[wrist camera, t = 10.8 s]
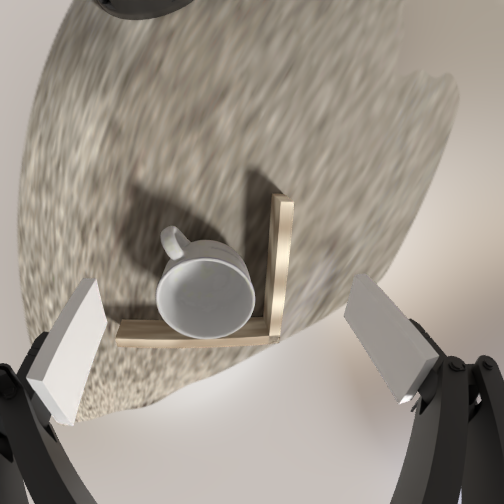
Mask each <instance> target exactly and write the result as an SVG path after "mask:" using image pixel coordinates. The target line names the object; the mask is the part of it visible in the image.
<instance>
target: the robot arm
mask: <svg viewBox="0 0 504 504" xmlns="http://www.w3.org/2000/svg"><path fill="white" fill-rule="evenodd" d="M97 1H98V3H99V4H100V5H101V6H102V7H103V8H104V10H105V11H107V12H108V13H109V14H111V15H113V16H115V17H118V18H122V19H128V20H143V19H151V18H156V17H160V16H163V15H166V14H169V13H172V12H174V11H176V10H178V9H180V8H182V7H184V6H186V5H188V4H189V3H191V2H192V1H193V0H97ZM344 317H345V319H346V321H347V322H348V324H349V325H350V327H351V328H352V330H353V331H354V333H355V334H356V336H357V338H358V339H359V341H360V342H361V344H362V345H363V347H364V349H365V350H366V352H367V353H368V355H369V356H370V358H371V360H372V361H373V363H374V365H375V366H376V368H377V369H378V371H379V373H380V374H381V376H382V377H383V379H384V381H385V382H386V384H387V386H388V387H389V389H390V390H391V392H392V394H393V396H394V397H395V399H396V401H397V402H398V404H401V403H404V402H407V401H410V400H412V398H413V397H414V396H415V394H416V393H417V391H418V392H419V394H420V395H421V396H420V398H419V399H418V400H417V402H416V403H415V405H414V406H413V407H412V409H411V412H413V411H414V409H415V408H416V407H417V409H416V414H415V419H414V424H413V428H412V433H411V437H410V441H409V445H408V449H407V453H406V457H405V460H404V463H403V467H402V470H401V473H400V477H399V480H398V483H397V486H396V489H395V491H394V494H393V497H392V500H391V502H390V504H458V500H459V495H460V490H461V489H462V504H504V380H503V378H502V375H501V373H500V370H499V368H498V365H497V363H496V362H495V361H494V360H493V358H491V357H489V356H485V355H482V356H480V357H479V358H478V359H477V361H476V362H475V364H465V363H464V361H462V360H461V359H460V358H457V357H454V356H448V357H447V356H446V355H445V354H444V352H443V351H442V350H441V349H440V348H439V346H438V345H437V344H436V343H435V342H434V341H433V339H432V338H430V336H429V335H428V334H427V333H425V330H424V329H423V328H422V327H421V326H420V324H418V323H417V322H415V321H414V320H412V319H408V318H407V317H406V316H405V315H404V314H403V313H402V312H401V310H400V309H399V308H398V307H397V306H396V305H395V304H394V302H393V301H392V300H391V299H390V298H389V297H388V296H387V295H386V294H385V293H384V292H383V290H382V289H381V288H380V287H379V286H378V285H377V284H376V283H375V282H374V281H373V280H372V279H371V278H370V277H369V276H368V275H367V274H355V275H354V279H353V283H352V287H351V291H350V295H349V299H348V302H347V306H346V310H345V313H344ZM106 325H107V320H106V316H105V313H104V309H103V305H102V301H101V297H100V293H99V289H98V284H97V280H96V278H83V279H82V281H81V282H80V284H79V285H78V287H77V288H76V290H75V291H74V293H73V294H72V296H71V297H70V299H69V300H68V302H67V304H66V305H65V307H64V308H63V310H62V312H61V313H60V315H59V317H58V318H57V320H56V322H55V323H54V325H53V327H52V329H51V330H50V332H43V333H42V334H40V335H39V336H38V337H37V338H36V339H35V341H34V343H33V344H32V346H31V349H30V350H29V352H28V353H27V354H28V355H27V356H26V357H25V359H24V361H23V363H22V365H21V367H20V369H19V370H18V373H17V374H15V373H14V371H13V370H12V368H11V366H9V365H8V364H4V363H1V364H0V504H29V502H28V499H27V495H26V491H25V487H24V482H25V485H26V487H27V489H28V491H29V493H30V495H31V497H32V499H33V501H34V503H35V504H97V503H96V501H95V500H94V498H93V497H92V496H91V494H90V493H89V491H88V490H87V488H86V487H85V485H84V484H83V482H82V480H81V479H80V477H79V476H78V474H77V472H76V471H75V469H74V467H73V465H72V464H71V462H70V460H69V458H68V456H67V455H66V453H65V451H64V449H63V447H62V445H61V443H60V442H59V439H58V437H57V435H56V433H55V431H54V429H53V427H52V425H51V424H50V422H49V420H50V417H51V415H52V416H53V418H54V419H55V420H56V421H57V423H61V424H65V425H70V426H73V425H74V421H75V417H76V414H77V410H78V407H79V403H80V400H81V397H82V393H83V390H84V387H85V384H86V381H87V378H88V375H89V372H90V369H91V366H92V363H93V360H94V357H95V354H96V352H97V349H98V346H99V343H100V341H101V338H102V335H103V333H104V330H105V328H106ZM479 396H481V399H482V401H481V402H480V403H479V404H478V403H477V399H478V398H479ZM23 480H24V482H23Z"/></svg>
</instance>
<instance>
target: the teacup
mask: <svg viewBox="0 0 504 504" xmlns="http://www.w3.org/2000/svg"><path fill="white" fill-rule="evenodd" d="M160 237H161V243H162V245H163V248H164V250H165V251H166V253H167V254H168V256H169V257H170V260H169V261H168V263H167V265H166V267H165V270H164V272H163V275H162V278H161V279H160V281H159V283H158V286H157V289H156V304H157V308H158V311H159V313H160V315H161V317H162V318H163V319H164V321H165V322H166V323H167V324H168V325H169V326H170V327H172V328H173V329H174V330H176V331H177V332H179V333H181V334H183V335H186V336H189V337H192V338H197V339H216V338H220V337H225V336H228V335H229V334H232V333H234V332H235V331H237V330H239V329H240V328H241V327H242V326H244V325H245V324H246V322H247V321H248V320H249V318H250V317H251V314H252V312H253V310H254V306H255V292H254V288H253V285H252V283H251V280H250V276H249V273H248V269H247V267H246V265H245V263H244V261H243V259H242V258H241V257H240V255H239V254H238V253H237V252H236V251H235V250H234V249H232V248H231V247H229V246H228V245H226V244H223V243H221V242H218V241H213V240H199V241H194V242H190V241H189V240H188V239H187V238H186V237H185V236H184V235H183V233H182V232H181V231H180V230H179V229H178V228H177V227H175V226H168V227H166V228H165V229H163V230H162V232H161V236H160Z"/></svg>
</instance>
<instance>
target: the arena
mask: <svg viewBox="0 0 504 504" xmlns="http://www.w3.org/2000/svg"><path fill="white" fill-rule="evenodd" d="M293 210H294V201H292V200H291V199H290V198H288V197H287V196H286V195H284V194H272V197H271V213H270V228H269V243H268V258H267V272H266V286H265V299H264V312H263V317H251V318H249V320H248V321H247V322H246V324H245V325H244V326H242V327H241V328H240V329H239V330H237V331H235V332H234V333H232V334H229V335H228V336H225V337H220V338H216V339H197V338H192V337H189V336H186V335H183V334H181V333H179V332H177V331H176V330H174V329H173V328H172V327H170V326H169V325H168V324H167V323H166V322H165V321H164V320H126V319H122V321H121V324H120V326H119V329H118V332H117V335H116V338H115V340H116V343H117V346H118V347H136V348H209V347H233V346H250V345H264V344H276V343H279V340H280V332H281V325H282V316H283V308H284V300H285V291H286V282H287V273H288V263H289V253H290V243H291V233H292V222H293Z"/></svg>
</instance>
